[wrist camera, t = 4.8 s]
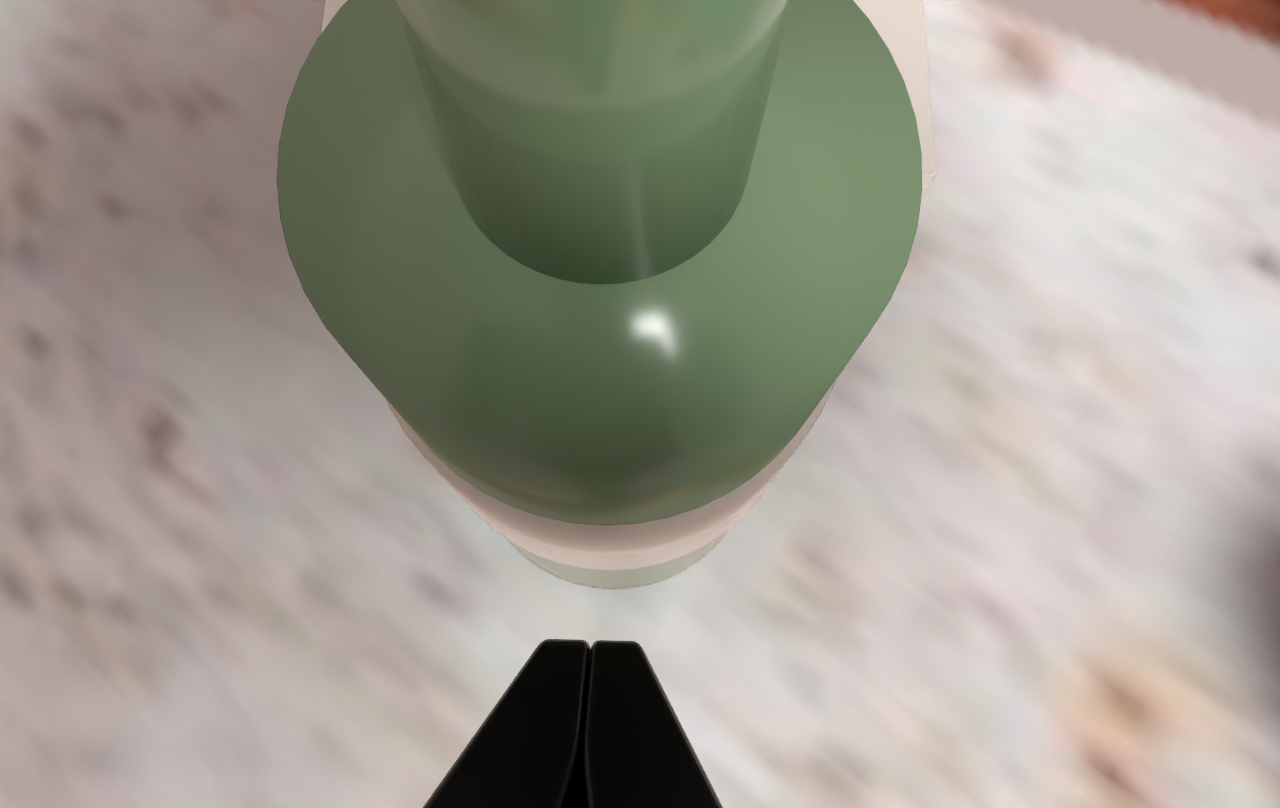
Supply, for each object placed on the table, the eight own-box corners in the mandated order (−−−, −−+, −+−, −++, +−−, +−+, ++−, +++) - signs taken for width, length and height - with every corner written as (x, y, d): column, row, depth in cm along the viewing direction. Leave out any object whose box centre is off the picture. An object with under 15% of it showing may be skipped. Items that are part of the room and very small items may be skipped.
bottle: (667, 651, 17) (1343, 272, 1) (415, 498, 18) (-1485, -1114, 2) (806, 402, 19) (1989, -1378, 3) (568, 270, 20) (289, -1741, 3)
